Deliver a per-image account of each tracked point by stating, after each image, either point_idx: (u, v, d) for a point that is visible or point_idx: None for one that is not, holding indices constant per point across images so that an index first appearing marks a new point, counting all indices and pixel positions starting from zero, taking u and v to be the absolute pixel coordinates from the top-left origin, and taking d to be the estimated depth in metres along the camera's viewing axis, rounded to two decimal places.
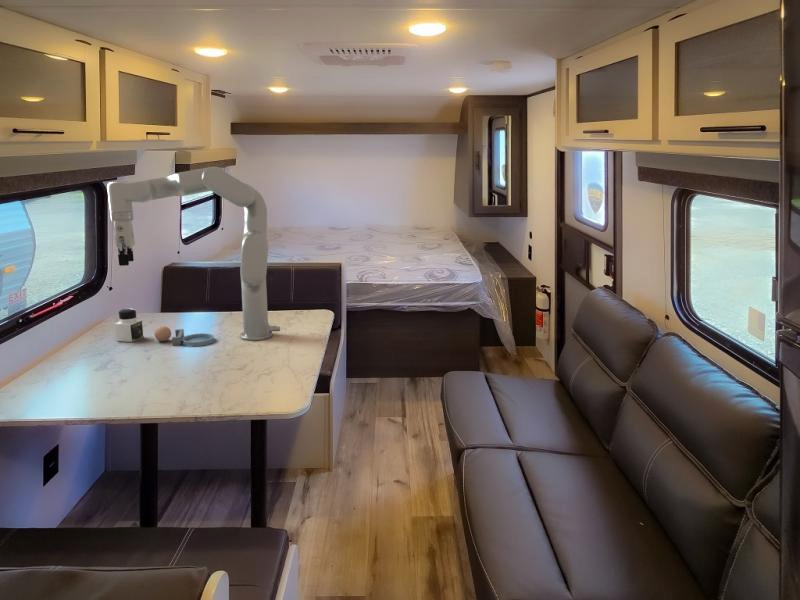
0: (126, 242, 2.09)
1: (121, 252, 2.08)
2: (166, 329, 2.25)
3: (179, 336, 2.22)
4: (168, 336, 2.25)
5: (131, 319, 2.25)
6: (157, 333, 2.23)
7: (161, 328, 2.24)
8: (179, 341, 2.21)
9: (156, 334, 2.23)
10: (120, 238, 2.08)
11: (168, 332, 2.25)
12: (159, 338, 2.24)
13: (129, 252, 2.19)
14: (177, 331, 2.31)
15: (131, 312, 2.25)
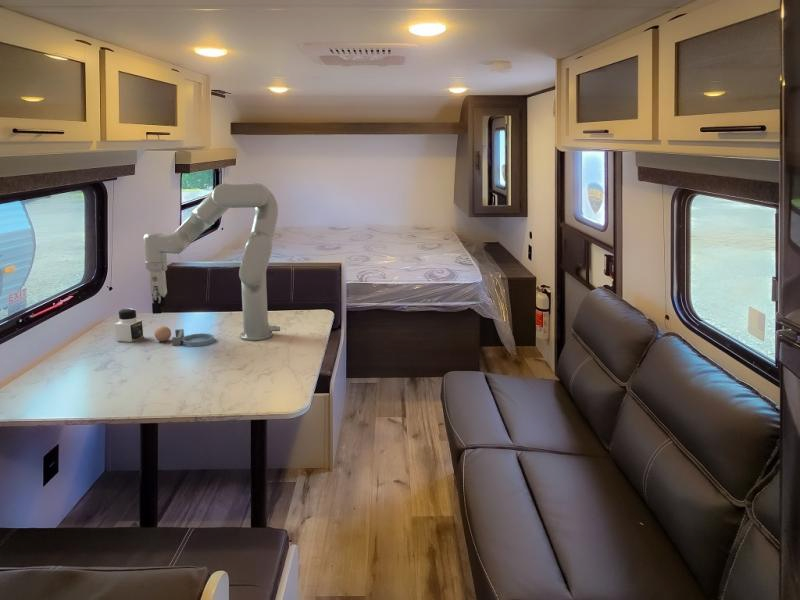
0: (160, 291, 2.18)
1: (155, 301, 2.16)
2: (166, 329, 2.25)
3: (179, 336, 2.22)
4: (168, 336, 2.25)
5: (131, 319, 2.25)
6: (157, 333, 2.23)
7: (161, 328, 2.24)
8: (179, 341, 2.21)
9: (156, 334, 2.23)
10: (154, 288, 2.16)
11: (168, 332, 2.25)
12: (159, 338, 2.24)
13: (161, 299, 2.27)
14: (177, 331, 2.31)
15: (131, 312, 2.25)
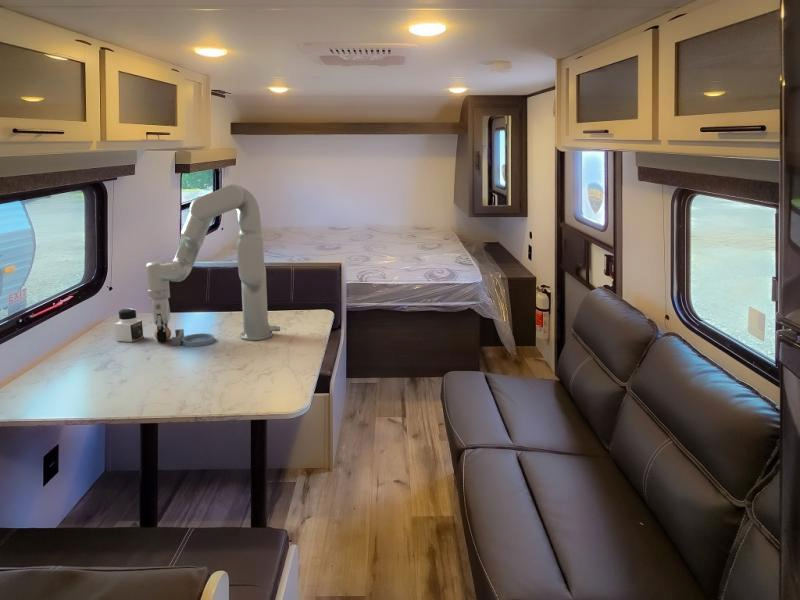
0: (164, 319, 2.20)
1: (160, 330, 2.21)
2: (166, 329, 2.25)
3: (179, 336, 2.22)
4: (168, 336, 2.25)
5: (131, 319, 2.25)
6: None
7: None
8: (179, 341, 2.21)
9: (156, 334, 2.23)
10: (158, 317, 2.19)
11: (168, 332, 2.25)
12: None
13: None
14: (177, 331, 2.31)
15: (131, 312, 2.25)
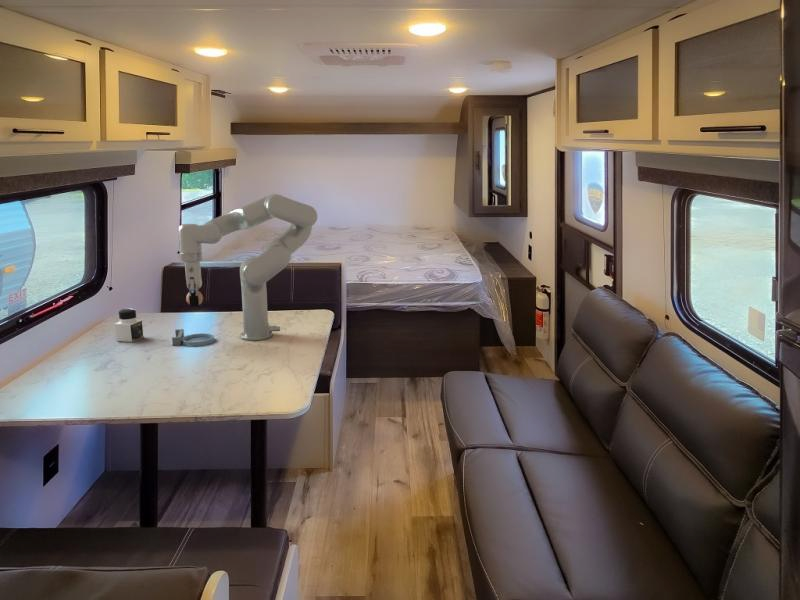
0: (196, 282, 2.16)
1: (192, 294, 2.17)
2: (198, 293, 2.21)
3: (179, 336, 2.22)
4: (200, 300, 2.21)
5: (131, 319, 2.25)
6: None
7: None
8: (179, 341, 2.21)
9: (188, 298, 2.20)
10: (191, 280, 2.15)
11: (200, 296, 2.21)
12: None
13: None
14: (177, 331, 2.31)
15: (131, 312, 2.25)
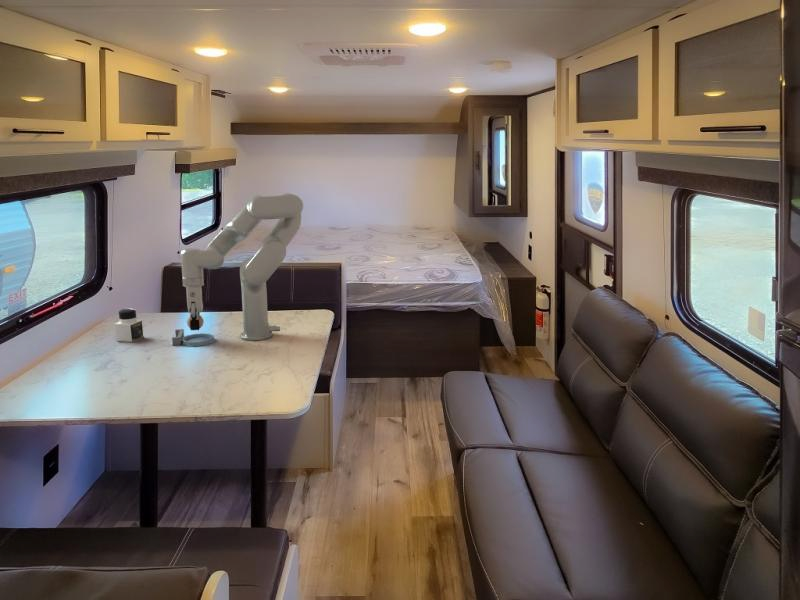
0: (197, 307, 2.18)
1: (193, 318, 2.19)
2: (199, 317, 2.23)
3: (179, 336, 2.22)
4: (201, 324, 2.23)
5: (131, 319, 2.25)
6: None
7: None
8: (179, 341, 2.21)
9: (189, 322, 2.22)
10: (192, 305, 2.17)
11: (201, 320, 2.23)
12: None
13: None
14: (177, 331, 2.31)
15: (131, 312, 2.25)
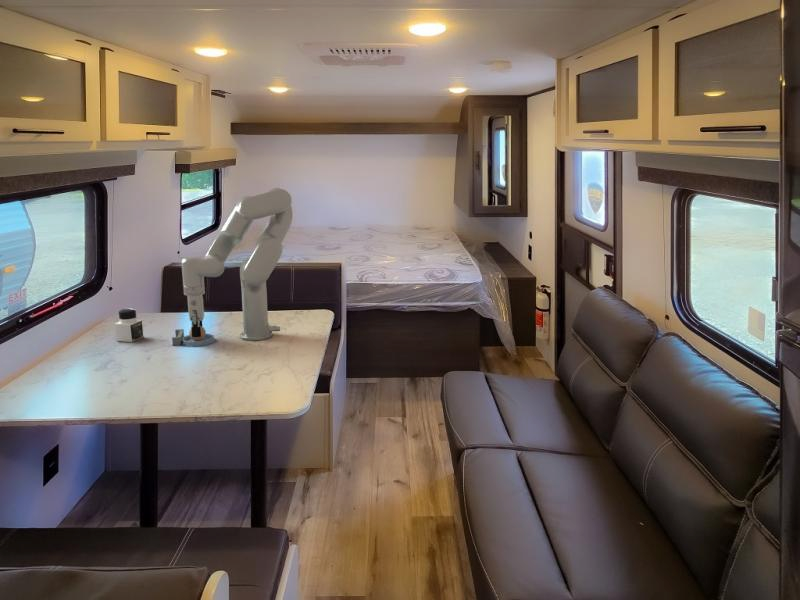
0: (199, 315, 2.19)
1: (194, 325, 2.18)
2: (201, 328, 2.24)
3: (179, 336, 2.22)
4: (203, 335, 2.24)
5: (131, 319, 2.25)
6: None
7: None
8: (179, 341, 2.21)
9: (191, 334, 2.23)
10: (194, 312, 2.18)
11: (203, 331, 2.24)
12: (194, 338, 2.23)
13: (199, 322, 2.29)
14: (177, 331, 2.31)
15: (131, 312, 2.25)
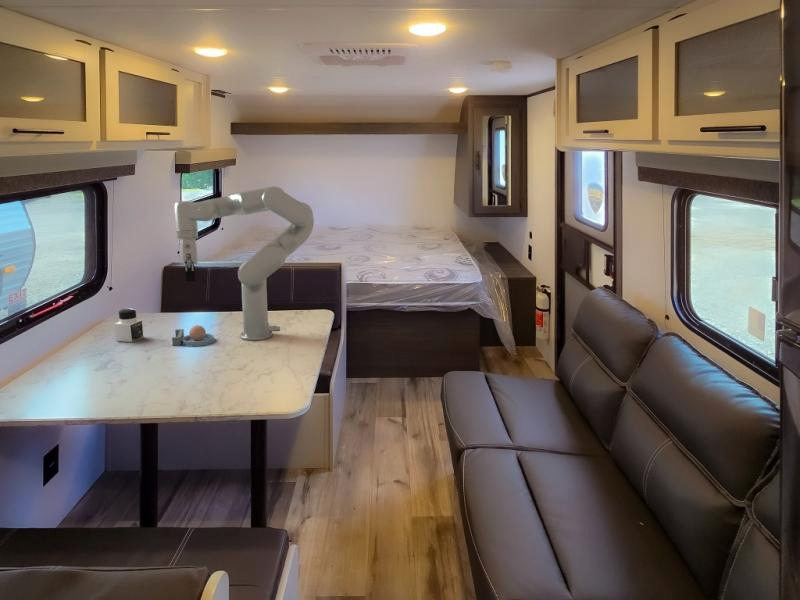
0: (193, 259, 2.19)
1: (189, 269, 2.18)
2: (201, 328, 2.24)
3: (179, 336, 2.22)
4: (203, 335, 2.24)
5: (131, 319, 2.25)
6: (192, 332, 2.23)
7: (196, 327, 2.23)
8: (179, 341, 2.21)
9: (191, 333, 2.23)
10: (188, 255, 2.17)
11: (203, 331, 2.24)
12: (194, 337, 2.23)
13: None
14: (177, 331, 2.31)
15: (131, 312, 2.25)
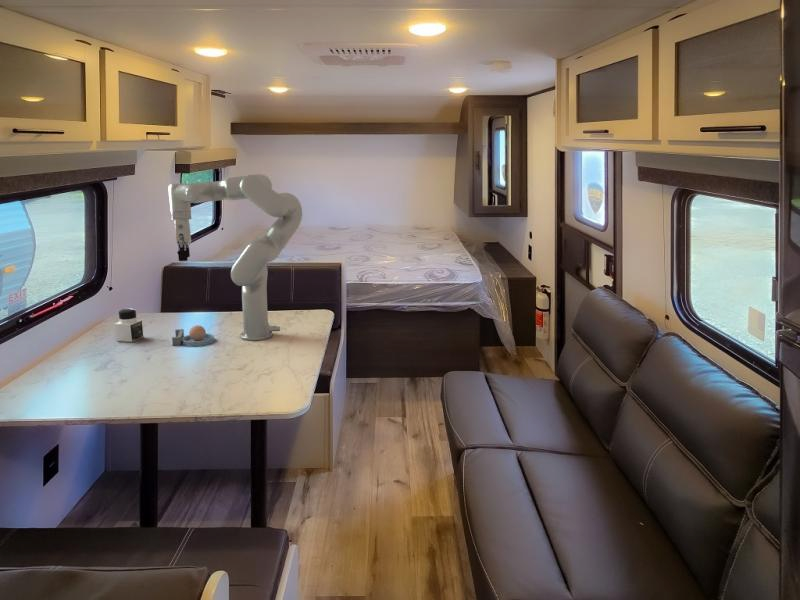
0: (185, 239, 2.25)
1: (181, 248, 2.24)
2: (201, 328, 2.24)
3: (179, 336, 2.22)
4: (203, 335, 2.24)
5: (131, 319, 2.25)
6: (192, 332, 2.23)
7: (196, 327, 2.23)
8: (179, 341, 2.21)
9: (191, 333, 2.23)
10: (180, 235, 2.24)
11: (203, 331, 2.24)
12: (194, 337, 2.23)
13: (186, 249, 2.35)
14: (177, 331, 2.31)
15: (131, 312, 2.25)
